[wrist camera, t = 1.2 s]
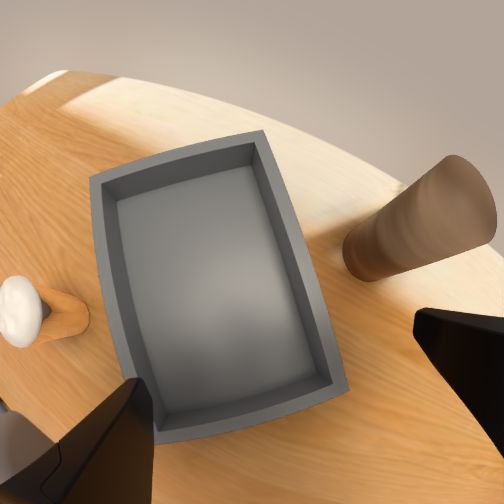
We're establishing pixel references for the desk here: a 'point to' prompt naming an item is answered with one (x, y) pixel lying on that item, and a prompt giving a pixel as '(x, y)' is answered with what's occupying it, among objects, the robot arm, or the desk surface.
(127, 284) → the tray
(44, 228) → the desk surface
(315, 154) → the desk surface
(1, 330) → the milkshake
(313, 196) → the desk surface
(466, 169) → the walnut cylinder
